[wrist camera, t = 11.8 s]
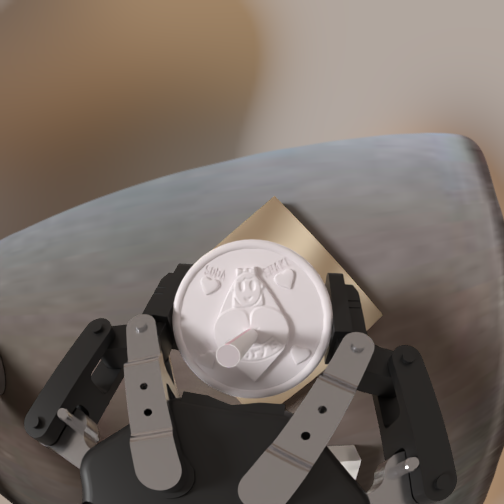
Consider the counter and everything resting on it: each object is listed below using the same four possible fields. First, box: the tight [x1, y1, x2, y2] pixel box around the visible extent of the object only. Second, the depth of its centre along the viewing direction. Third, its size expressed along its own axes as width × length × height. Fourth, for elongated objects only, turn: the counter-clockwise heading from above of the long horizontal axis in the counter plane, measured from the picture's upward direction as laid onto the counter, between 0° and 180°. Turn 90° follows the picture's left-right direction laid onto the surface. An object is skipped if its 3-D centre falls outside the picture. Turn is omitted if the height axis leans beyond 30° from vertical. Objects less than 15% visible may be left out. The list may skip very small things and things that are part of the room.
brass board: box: [214, 196, 383, 404], centre depth 22 cm, size 13×13×2 cm
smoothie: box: [172, 239, 333, 398], centre depth 13 cm, size 6×6×14 cm
